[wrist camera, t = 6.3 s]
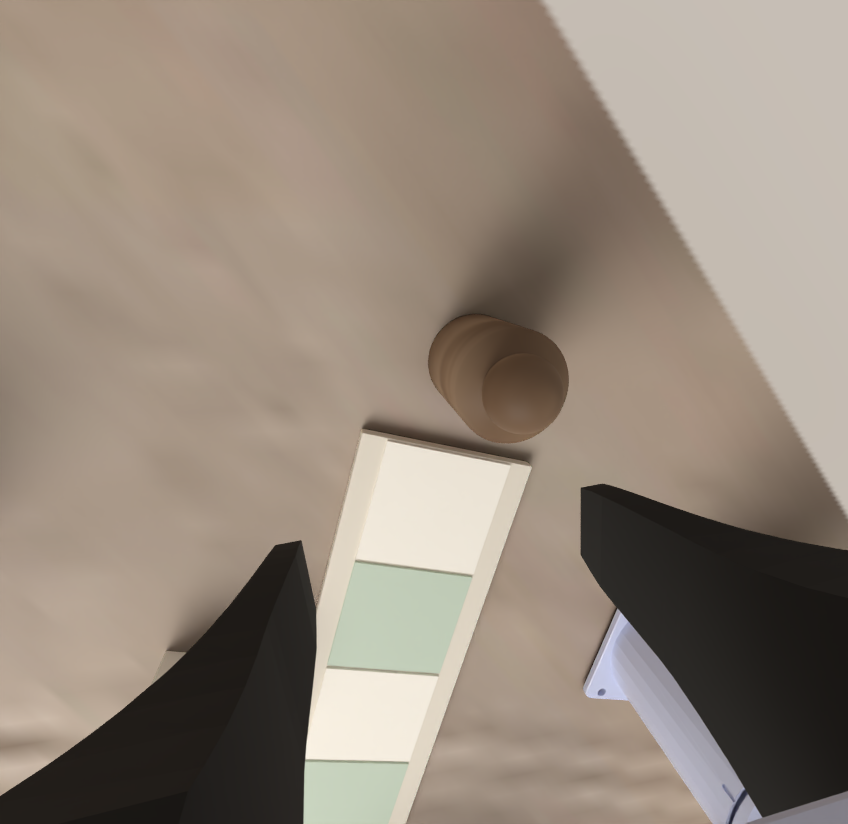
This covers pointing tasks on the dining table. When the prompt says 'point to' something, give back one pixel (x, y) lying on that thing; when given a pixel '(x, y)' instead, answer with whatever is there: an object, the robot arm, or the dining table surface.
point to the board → (399, 617)
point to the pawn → (499, 377)
